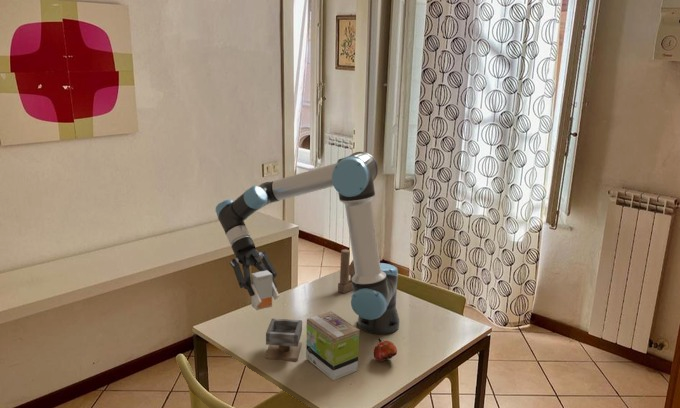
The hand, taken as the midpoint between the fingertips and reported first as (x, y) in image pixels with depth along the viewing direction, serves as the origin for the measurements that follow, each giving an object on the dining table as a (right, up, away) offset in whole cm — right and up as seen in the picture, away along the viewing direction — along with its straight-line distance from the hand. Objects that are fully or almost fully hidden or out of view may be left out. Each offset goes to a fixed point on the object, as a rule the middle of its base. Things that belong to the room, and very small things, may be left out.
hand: (268, 300), depth 183 cm
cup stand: (+6, -16, -2) cm, 17 cm away
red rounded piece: (+38, -19, -5) cm, 43 cm away
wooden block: (+28, -4, +48) cm, 56 cm away
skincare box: (-2, -3, +4) cm, 5 cm away
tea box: (+21, -19, -9) cm, 30 cm away
